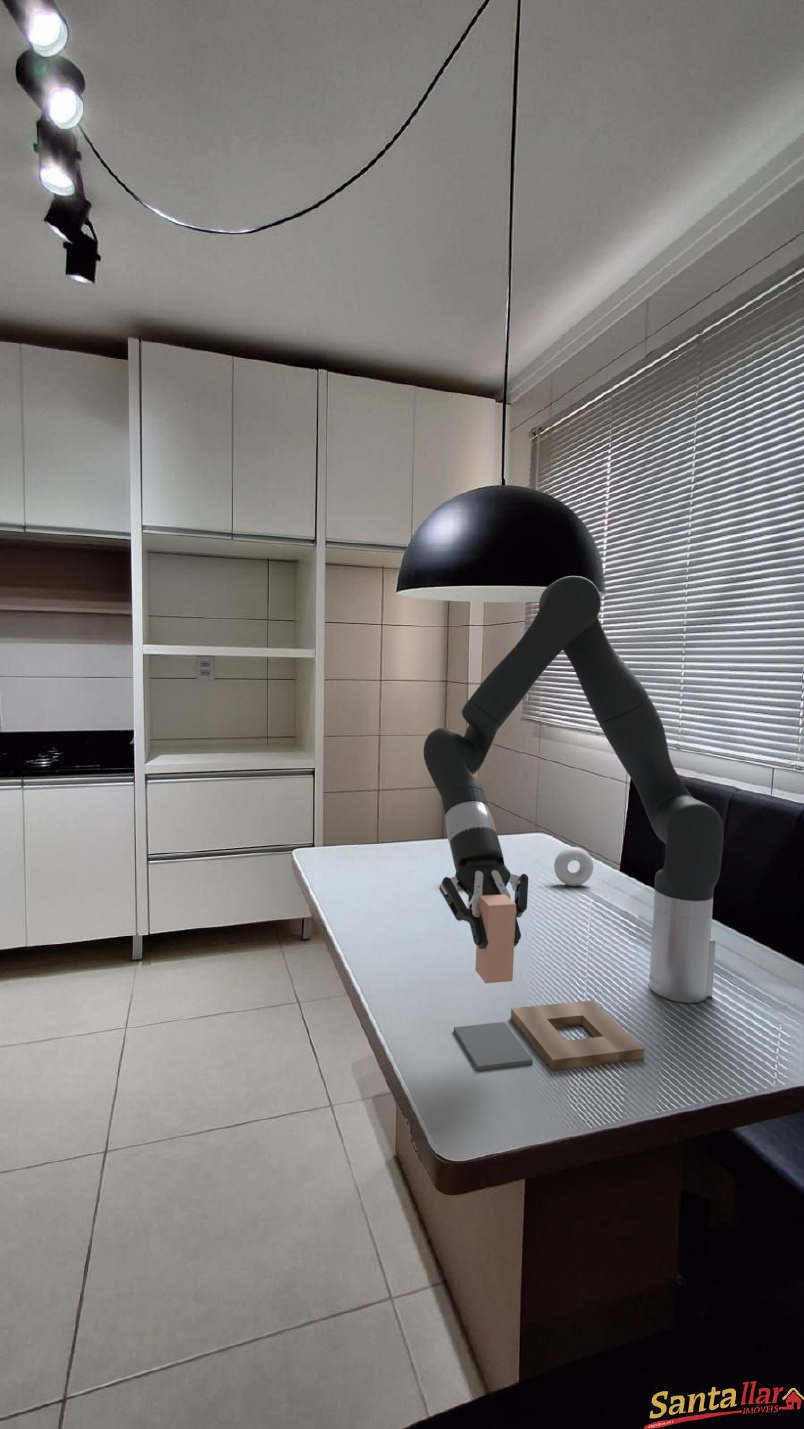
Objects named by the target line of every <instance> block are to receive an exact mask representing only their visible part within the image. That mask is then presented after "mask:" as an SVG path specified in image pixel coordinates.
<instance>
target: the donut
mask: <svg viewBox="0 0 804 1429" xmlns="http://www.w3.org/2000/svg"><path fill="white" fill-rule="evenodd" d="M572 861H576V862H578V864H579V868H578V870H576V871H575V872H571V871H570V870H569V869H568V866H569V864H570V863H571V862H572ZM593 862H594V861H593V859H592V856H591V855H590V853H588V852H587V851H586V850H585V849H583V848H581V847H577V846H571V847H567V848H565V849H562V850H561V851H560V852H559V853H558V854H557V856H556V858H554V864H553V868H554V873H555V875H556V877H557V879H558V880H559V881H560V882H561V883H562V884H565V885H566V886H570V887H579V886H581V885H583V884H585V883H587V881H589V879H590V878H591V876H592V875H593V872H594V863H593Z"/></svg>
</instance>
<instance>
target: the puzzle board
mask: <svg viewBox="0 0 804 1429" xmlns="http://www.w3.org/2000/svg"><path fill="white" fill-rule="evenodd" d="M510 1019H511V1020H512V1022H514V1024H515V1025H516V1026H517V1027H518V1029H519V1030H520V1031H521V1033H522V1034H523V1035H524V1036H525V1038H526V1039H527V1040H528V1042H529V1043H530V1044H531V1046H533V1047H534V1049H535V1051H536V1052H537V1053H538V1054H539V1055H540V1057H541V1058H542V1059H543V1061H544V1062H545V1063H546V1064H547V1065H548V1067H549V1068H550V1070H552V1072H553V1071H561V1070H567V1069H576V1068H584V1067H590V1066H593V1067H594V1066H600V1065H607V1064H616V1063H622V1062H630V1061H638V1060H639V1061H640V1060H644V1059H645V1047H644V1046H642V1044H641V1043H639V1042H638V1041H637V1040H636V1039H635V1038H634V1037H633V1036H632V1035H630V1034H629V1032H627V1031H626V1030H625V1029H624V1028H623V1027H622V1026H621V1025H620V1024H618V1023H617V1021H615V1020H614V1019H613V1017H611V1016H610V1015H609V1014H608V1013H607V1012H605V1010H604V1009H603V1008H602V1007H600V1006H599V1004H597V1003H596V1002H595V1000H592V999H591V1000H590V999H589V1000H582V1001H581V1000H580V1001H571V1002H561V1003H551V1004H541V1005H534V1006H533V1005H532V1006H531V1005H530V1006H522V1007H513V1008H511V1009H510ZM573 1026H583V1028H584V1029H586V1030H587V1032H588V1033H589V1034H590V1035H591V1036H592V1037H585V1038H577V1039H570V1040H568V1039H567V1040H566V1039H565V1038H564V1037H563V1036H562V1035H561V1033H560V1032H559V1031H558V1030H557V1029H556V1028H564V1027H565V1028H566V1027H573Z"/></svg>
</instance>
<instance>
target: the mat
mask: <svg viewBox="0 0 804 1429" xmlns="http://www.w3.org/2000/svg"><path fill="white" fill-rule="evenodd" d="M453 1033H454V1034H455V1036H456V1037H457V1039H458V1041H459V1043H460V1044H461V1046H462V1048H463V1049H464V1051H465V1053H466V1054H467V1056H468V1057H469V1059H470V1061H471V1062H472V1064H473V1066H474V1068H475V1069H476V1070H477V1072H478V1071H484V1070H485V1071H486V1070H492V1069H500V1068H501V1069H502V1068H508V1067H510V1068H511V1067H519V1066H525V1065H532V1064H533V1061H534V1060H533V1058H532V1057H531V1055H530V1054H529V1053H528V1051H527V1050H526V1049H525V1048H524V1046H523V1045H522V1044H521V1042H520V1041H519V1039H518V1038H517V1037H516V1036H515V1034H514V1033H513V1032H512V1030H511V1029H510V1027H509V1026H508V1025H507V1023H505V1021H501V1022H500V1021H499V1022H492V1023H482V1024H472V1025H463V1026H454V1027H453Z"/></svg>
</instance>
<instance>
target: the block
mask: <svg viewBox="0 0 804 1429" xmlns="http://www.w3.org/2000/svg"><path fill="white" fill-rule="evenodd" d="M479 905H480V909H481V915H480V918H482V919H483V923H484V928H485V932H486V936H487V940H488V945H487V946H486V947H485V949H479V946H478V945H476V950H475V972H476V973H477V975H478V976H479V977H480V978H481V979H482V981H483V983H484V984H495V983H506V982H513V977H514V955H515V953H514V952H515V947H514V939H515V918H516V904H515V903H514V901H513V900H512V898H511V899H510V898H508V897H507V896H506V895H505V894H504V895H485V896H479Z"/></svg>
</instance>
